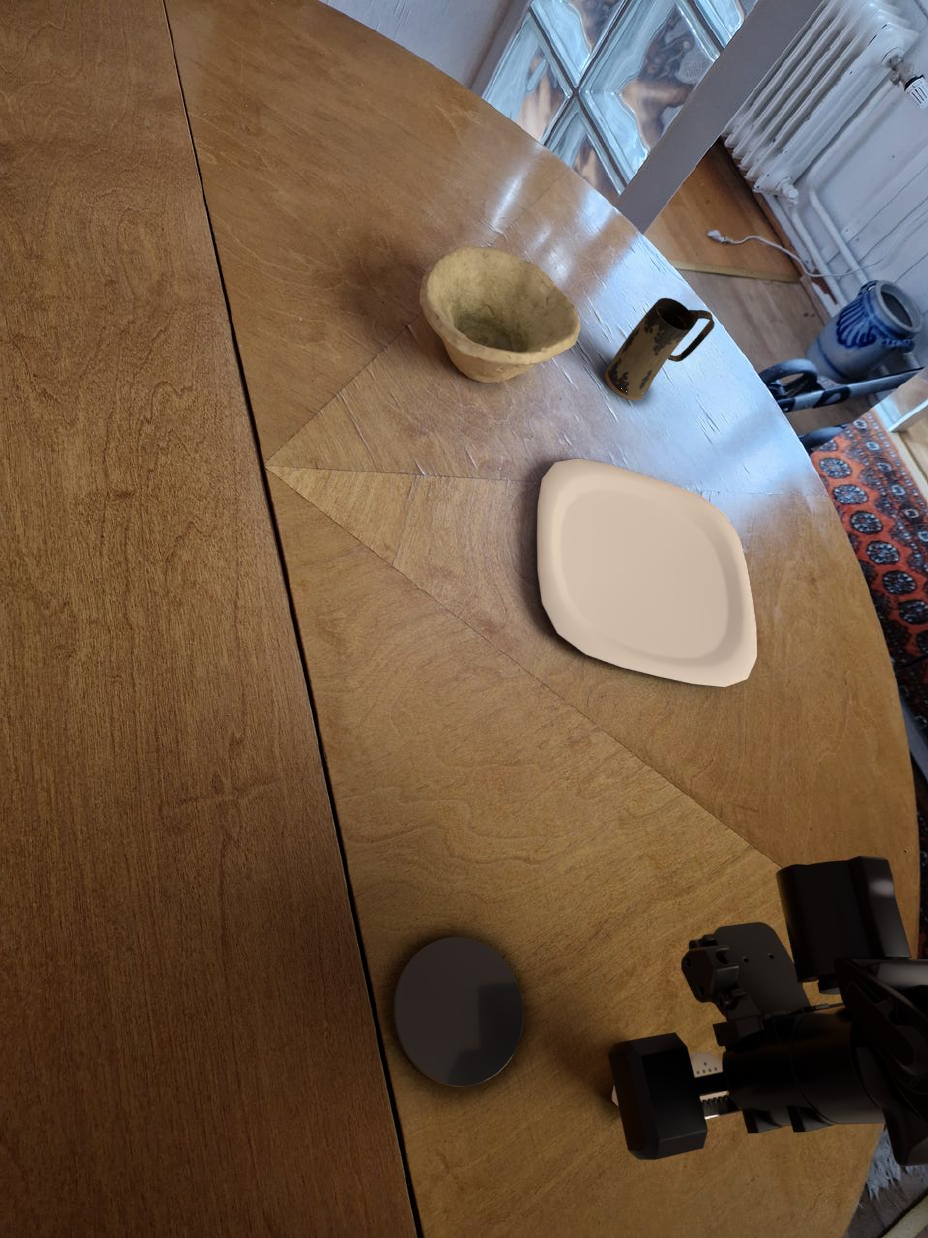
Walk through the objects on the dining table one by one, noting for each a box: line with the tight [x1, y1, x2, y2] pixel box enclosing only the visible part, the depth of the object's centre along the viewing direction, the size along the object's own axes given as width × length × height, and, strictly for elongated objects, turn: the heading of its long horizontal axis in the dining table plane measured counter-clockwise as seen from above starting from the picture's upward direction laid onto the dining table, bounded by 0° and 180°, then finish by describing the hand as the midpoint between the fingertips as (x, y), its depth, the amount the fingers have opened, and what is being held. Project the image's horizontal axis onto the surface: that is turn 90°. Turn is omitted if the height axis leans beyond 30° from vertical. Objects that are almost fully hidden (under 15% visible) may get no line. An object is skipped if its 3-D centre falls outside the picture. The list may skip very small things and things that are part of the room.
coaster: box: [392, 936, 525, 1088], centre depth 65 cm, size 10×10×1 cm
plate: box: [536, 458, 758, 689], centre depth 92 cm, size 25×25×2 cm
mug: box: [604, 297, 716, 401], centre depth 103 cm, size 8×6×12 cm
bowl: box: [418, 246, 581, 384], centre depth 95 cm, size 14×18×15 cm
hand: (679, 1082), depth 62 cm, fingers open, 9 cm apart
